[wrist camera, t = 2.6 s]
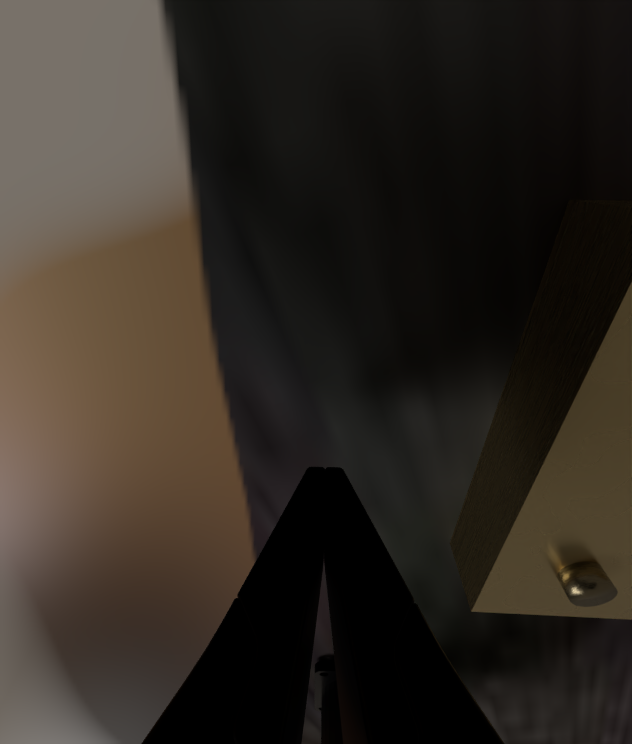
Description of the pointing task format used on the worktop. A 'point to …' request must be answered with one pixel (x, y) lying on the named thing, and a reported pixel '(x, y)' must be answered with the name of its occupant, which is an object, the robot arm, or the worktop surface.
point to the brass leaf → (561, 440)
